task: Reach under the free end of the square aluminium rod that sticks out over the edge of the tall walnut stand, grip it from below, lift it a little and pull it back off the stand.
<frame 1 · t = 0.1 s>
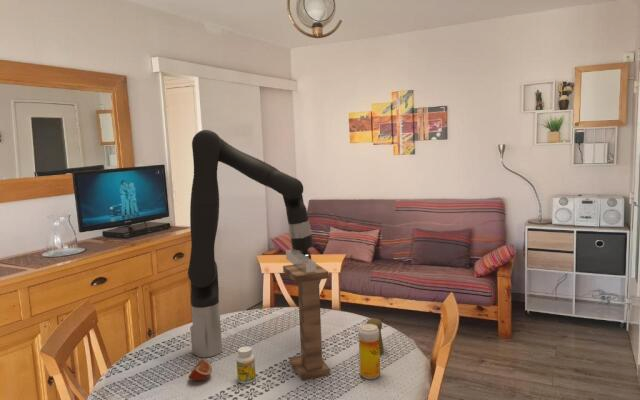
hand: (309, 279, 165), 22 cm above the table, tool pointing down, fingers open, 8 cm apart
supplement bottle: (246, 380, 142), on the table
fruit slice: (200, 379, 143), on the table
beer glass: (370, 375, 141), on the table
cork: (374, 352, 157), on the table
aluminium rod: (300, 265, 147), point 32 cm above the table, touching walnut stand
walnut stand: (309, 369, 147), on the table
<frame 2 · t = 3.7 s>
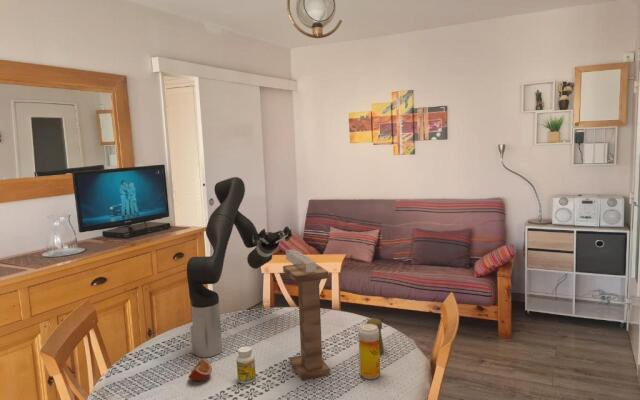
hand: (276, 230, 171), 39 cm above the table, tool pointing upward, fingers open, 8 cm apart
nothing on the table moved.
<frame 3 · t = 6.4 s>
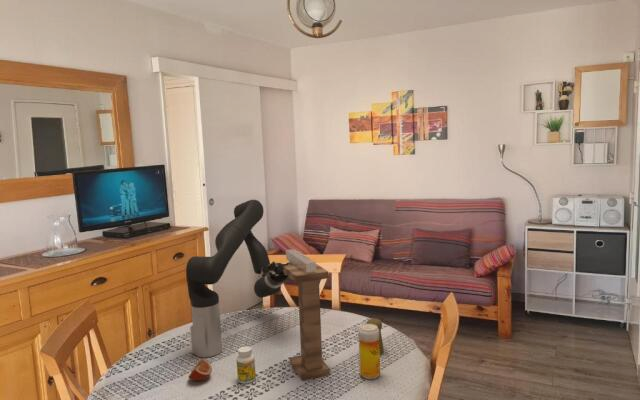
hand: (286, 262, 161), 29 cm above the table, tool pointing upward, fingers open, 8 cm apart
nothing on the table moved.
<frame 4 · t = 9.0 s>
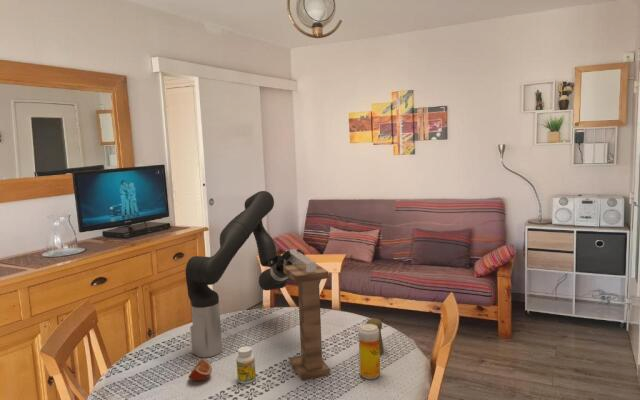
hand: (294, 252, 152), 35 cm above the table, tool pointing upward, fingers closed on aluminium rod, 3 cm apart
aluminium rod: (300, 265, 147), point 32 cm above the table, touching gripper, walnut stand
everything else where it was.
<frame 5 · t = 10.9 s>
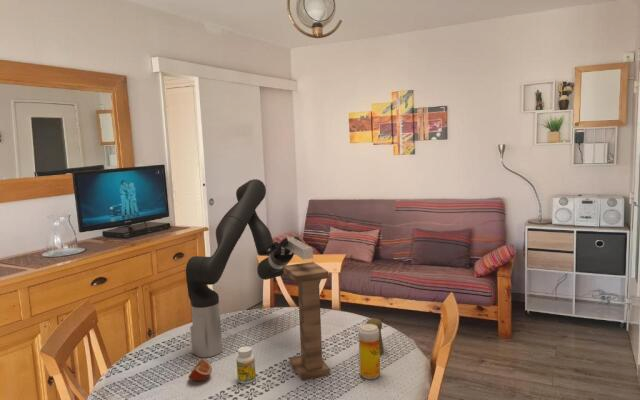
hand: (292, 239, 153), 39 cm above the table, tool pointing upward, fingers closed on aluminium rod, 3 cm apart
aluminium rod: (297, 252, 148), point 36 cm above the table, touching gripper
everything else where it was.
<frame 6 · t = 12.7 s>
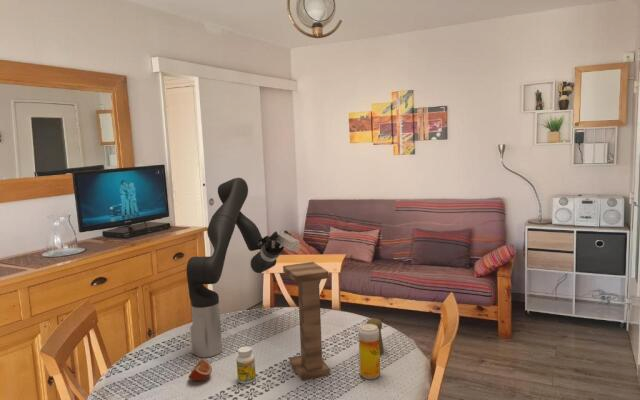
hand: (281, 233, 164), 39 cm above the table, tool pointing upward, fingers closed on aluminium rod, 3 cm apart
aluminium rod: (286, 244, 159), point 36 cm above the table, touching gripper
everything else where it was.
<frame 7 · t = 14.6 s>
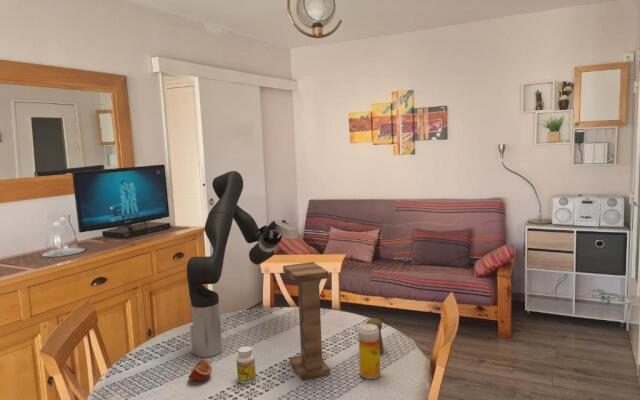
hand: (279, 222, 166), 42 cm above the table, tool pointing upward, fingers closed on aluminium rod, 3 cm apart
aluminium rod: (284, 233, 161), point 39 cm above the table, touching gripper
everything else where it was.
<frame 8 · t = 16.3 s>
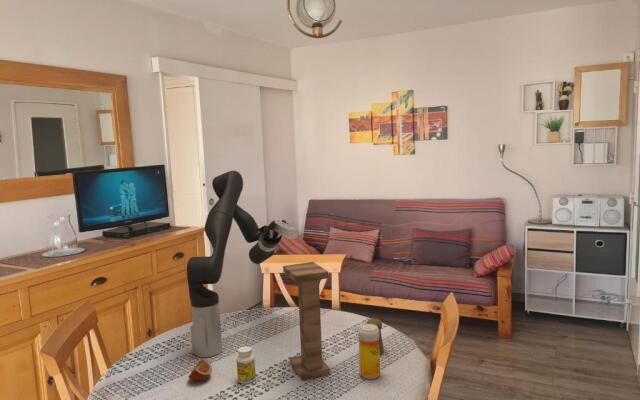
hand: (279, 222, 166), 42 cm above the table, tool pointing upward, fingers closed on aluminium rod, 3 cm apart
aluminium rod: (284, 233, 161), point 39 cm above the table, touching gripper
everything else where it was.
at the end: the gripper is holding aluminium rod; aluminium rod touching gripper; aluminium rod moved 17.6 cm from its start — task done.
